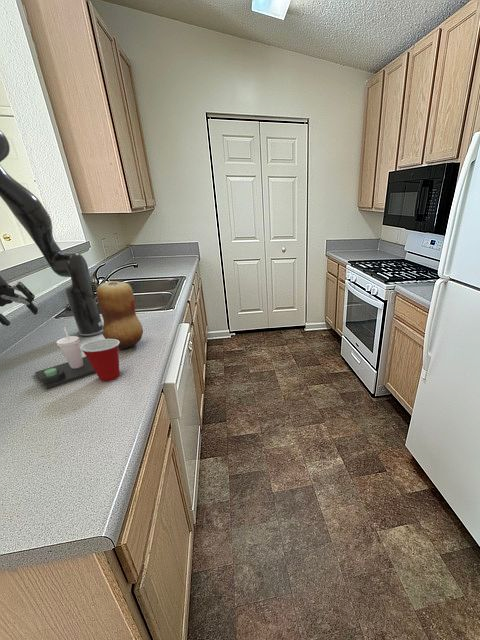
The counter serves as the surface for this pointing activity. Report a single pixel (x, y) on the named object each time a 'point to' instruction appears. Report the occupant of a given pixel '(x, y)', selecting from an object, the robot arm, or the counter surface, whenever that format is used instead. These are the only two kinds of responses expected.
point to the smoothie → (71, 350)
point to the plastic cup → (103, 357)
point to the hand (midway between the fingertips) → (22, 318)
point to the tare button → (51, 372)
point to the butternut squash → (119, 313)
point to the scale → (65, 374)
